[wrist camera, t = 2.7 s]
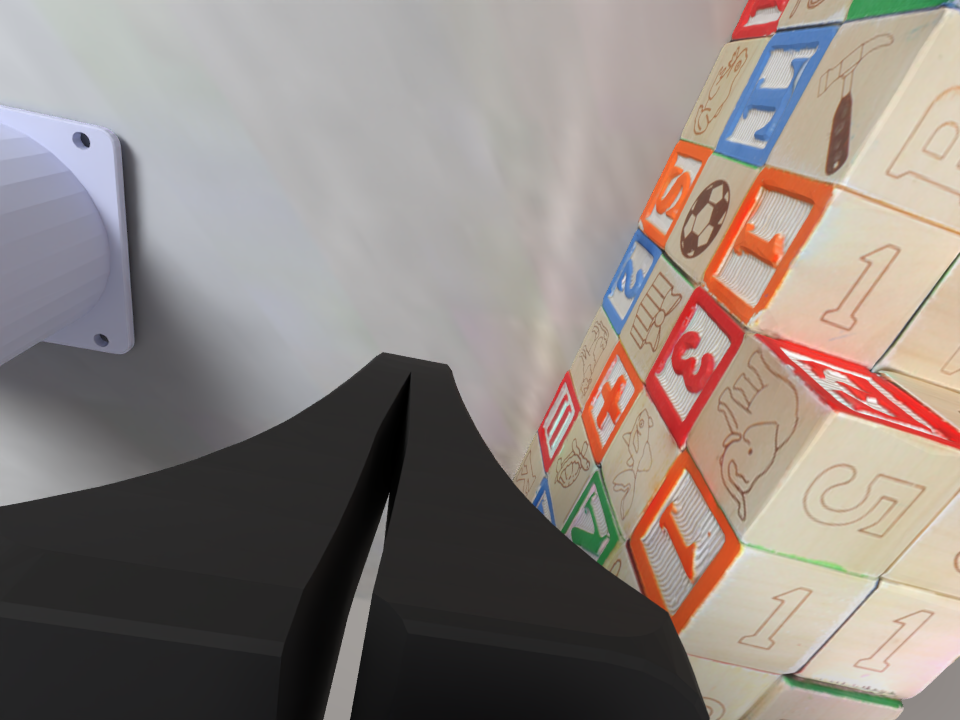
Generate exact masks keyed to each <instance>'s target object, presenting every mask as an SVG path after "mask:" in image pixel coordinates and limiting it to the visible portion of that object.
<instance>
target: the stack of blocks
mask: <svg viewBox="0 0 960 720" xmlns="http://www.w3.org/2000/svg"><path fill="white" fill-rule="evenodd" d="M513 483H514V484H515V485H516V486H517V487H518V489H519V490H520V491H521V492H522V493H523V494H524V495H525V496H526V497H527V499H528V500H529V501H530V502H531V503H532V504H533V505H534V506H535V507H536V508H537V509H538V510H539V511H540V512H541V513H542V514H543V515H544V516H545V517H546V518H547V519H548V520H549V521H550V522H551V523H552V524H553V525H554V526H556V527H557V528H558V529H559V530H560V531H561V532H562V533H563V534H564V535H566V536H567V537H568V538H569V539H570V540H571V541H572V542H574V543H575V544H576V545H577V546H578V547H580V548H581V549H582V550H583V551H584V552H586V553H587V554H588V555H589V556H591V557H592V558H593V559H594V560H595V561H597V562H598V563H599V564H600V565H602V566H603V567H604V568H606V569H607V570H608V571H610V572H611V573H613V574H614V575H615V576H617V577H618V578H620V579H621V580H623V581H624V582H625V583H627V584H628V585H630V586H631V587H633V588H634V589H636V590H637V591H638V592H640V593H641V594H643V595H644V596H646V597H647V598H648V599H650V600H651V601H653V602H654V603H656V604H657V605H659V606H660V607H661V608H663V609H664V610H666V611H667V612H668V613H669V615H670V617H671V620H672V622H673V624H674V627H675V629H676V631H677V633H678V635H679V638H680V640H681V642H682V644H683V646H684V648H685V651H686V653H687V655H688V658H689V661H690V663H691V666H692V669H693V671H694V674H695V677H696V680H697V683H698V686H699V689H700V691H701V694H702V697H703V700H704V703H705V706H706V708H707V711H708V714H709V717H710V720H895V719H896V718H897V717H898V716H899V715H900V714H901V713H902V711H903V704H902V701H901V700H902V699H907V698H912V697H914V696H915V695H917V694H919V693H920V692H921V691H922V690H923V689H924V688H926V687H927V686H928V685H929V684H930V683H931V682H932V681H933V680H934V679H935V678H936V677H937V676H938V675H939V674H940V673H941V672H942V671H943V670H944V669H945V668H946V667H947V666H949V665H950V664H951V663H953V662H954V661H956V660H957V659H958V658H959V657H960V0H749V1H748V3H747V5H746V7H745V9H744V11H743V13H742V15H741V18H740V20H739V22H738V24H737V26H736V28H735V30H734V32H733V34H732V39H731V41H730V42H729V43H727V44H725V45H724V47H723V48H722V50H721V52H720V55H719V57H718V59H717V61H716V63H715V65H714V67H713V69H712V71H711V73H710V75H709V77H708V79H707V81H706V84H705V86H704V88H703V90H702V92H701V94H700V96H699V98H698V100H697V102H696V104H695V107H694V109H693V111H692V113H691V115H690V117H689V119H688V121H687V123H686V125H685V128H684V130H683V132H682V135H681V139H680V140H679V142H678V143H677V144H676V146H675V148H674V150H673V152H672V154H671V156H670V158H669V160H668V162H667V164H666V166H665V168H664V170H663V172H662V174H661V176H660V178H659V180H658V182H657V184H656V186H655V188H654V190H653V192H652V194H651V197H650V199H649V201H648V203H647V205H646V207H645V209H644V211H643V213H642V215H641V217H640V219H639V222H638V230H637V231H636V233H635V234H634V236H633V238H632V240H631V242H630V245H629V247H628V249H627V251H626V253H625V255H624V257H623V259H622V261H621V263H620V265H619V267H618V270H617V272H616V274H615V276H614V278H613V280H612V282H611V284H610V286H609V288H608V290H607V292H606V294H605V296H604V298H603V303H602V305H601V307H600V308H599V310H598V312H597V314H596V316H595V318H594V320H593V322H592V324H591V326H590V328H589V331H588V333H587V335H586V337H585V339H584V341H583V343H582V345H581V347H580V349H579V351H578V353H577V355H576V358H575V360H574V362H573V364H572V366H571V369H570V370H569V371H567V373H566V374H565V376H564V379H563V380H562V382H561V384H560V386H559V388H558V390H557V393H556V395H555V397H554V399H553V401H552V403H551V405H550V407H549V409H548V411H547V413H546V415H545V417H544V419H543V421H542V423H541V426H540V428H539V429H538V432H537V433H536V435H535V437H534V439H533V441H532V443H531V445H530V447H529V449H528V451H527V453H526V455H525V457H524V459H523V461H522V463H521V465H520V467H519V469H518V471H517V473H516V475H515V477H514V479H513Z"/></svg>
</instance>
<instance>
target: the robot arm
mask: <svg viewBox="0 0 960 720" xmlns="http://www.w3.org/2000/svg"><path fill="white" fill-rule="evenodd" d="M81 133H84V134H86V136H87V137H88V138H89V140H90V147H89V148H88V147H86V146H85V145H84V144H83V143H82V142H81V139H80V136H81ZM100 334H102V335H105V336H106V337H107V338H108V341H109V342H106V341H104V340H103V339H102V338H101V336H100ZM41 341H43V342H49V343H55V344H61V345H67V346H72V347H78V348H84V349H90V350H96V351H101V352H107V353H113V354H124V353H127V352H128V351H129V350H131V349H132V347H133V346H134V342H135V339H134V325H133V311H132V296H131V282H130V268H129V254H128V239H127V225H126V211H125V197H124V182H123V168H122V154H121V145H120V141H119V139H118V137H117V136H116V134H115V133H113V132H112V131H111V130H110V129H108V128H105V127H102V126H98V125H93V124H88V123H84V122H79V121H74V120H69V119H65V118H60V117H55V116H51V115H46V114H41V113H36V112H32V111H27V110H22V109H18V108H13V107H8V106H4V105H0V366H1V365H3V364H4V363H6V362H8V361H9V360H11V359H13V358H14V357H16V356H18V355H19V354H21V353H23V352H24V351H26V350H27V349H29V348H31V347H32V346H34V345H36V344H37V343H39V342H41ZM389 492H390V494H389ZM388 495H389V503H388V512H387V522H386V531H385V540H384V549H383V553H382V557H381V561H380V565H379V569H378V574H377V578H376V582H375V585H374V589H373V594H372V599H371V605H370V611H369V617H368V622H367V628H366V633H365V639H364V644H363V650H362V656H361V661H360V667H359V673H358V678H357V684H356V690H355V695H354V701H353V706H352V712H351V718H350V720H710V717H709V714H708V711H707V708H706V706H705V703H704V700H703V697H702V694H701V691H700V689H699V686H698V683H697V680H696V677H695V674H694V671H693V669H692V666H691V663H690V661H689V658H688V655H687V653H686V651H685V648H684V646H683V644H682V642H681V640H680V638H679V635H678V633H677V631H676V629H675V627H674V624H673V622H672V620H671V617H670V615H669V613H668V612H667V611H666V610H664V609H663V608H661V607H660V606H659V605H657V604H656V603H654V602H653V601H651V600H650V599H648V598H647V597H646V596H644V595H643V594H641V593H640V592H638V591H637V590H636V589H634V588H633V587H631V586H630V585H628V584H627V583H625V582H624V581H623V580H621V579H620V578H618V577H617V576H615V575H614V574H613V573H611V572H610V571H608V570H607V569H606V568H604V567H603V566H602V565H600V564H599V563H598V562H597V561H595V560H594V559H593V558H592V557H591V556H589V555H588V554H587V553H586V552H584V551H583V550H582V549H581V548H580V547H578V546H577V545H576V544H575V543H574V542H572V541H571V540H570V539H569V538H568V537H567V536H566V535H564V534H563V533H562V532H561V531H560V530H559V529H558V528H557V527H556V526H554V525H553V524H552V523H551V522H550V521H549V520H548V519H547V518H546V517H545V516H544V515H543V514H542V513H541V512H540V511H539V510H538V509H537V508H536V507H535V506H534V505H533V504H532V503H531V502H530V501H529V500H528V499H527V497H526V496H525V495H524V494H523V493H522V492H521V491H520V490H519V489H518V487H517V486H516V485H515V484H514V483H513V481H512V480H511V479H510V478H509V476H508V475H507V474H506V473H505V471H504V470H503V469H502V468H501V466H500V465H499V463H498V462H497V461H496V459H495V458H494V456H493V455H492V453H491V452H490V450H489V448H488V447H487V445H486V444H485V442H484V440H483V439H482V437H481V435H480V434H479V432H478V430H477V428H476V427H475V425H474V423H473V421H472V419H471V417H470V415H469V413H468V411H467V409H466V407H465V405H464V403H463V400H462V398H461V396H460V393H459V391H458V389H457V386H456V383H455V380H454V377H453V373H452V370H451V369H450V367H449V366H448V365H447V364H442V363H436V362H431V361H426V360H421V359H416V358H410V357H405V356H400V355H395V354H389V353H384V352H383V353H381V354H379V355H378V356H376V357H375V358H374V359H373V360H372V361H370V362H369V363H368V364H367V365H366V366H365V367H363V368H362V369H361V370H360V371H359V372H357V373H356V374H355V375H354V376H352V377H351V378H350V379H349V380H347V381H346V382H345V383H343V384H342V385H340V386H339V387H338V388H336V389H335V390H334V391H332V392H331V393H330V394H328V395H327V396H325V397H324V398H322V399H321V400H319V401H318V402H316V403H315V404H313V405H311V406H310V407H308V408H307V409H305V410H303V411H302V412H300V413H299V414H297V415H296V416H294V417H292V418H290V419H289V420H287V421H285V422H283V423H281V424H279V425H277V426H275V427H273V428H271V429H269V430H267V431H265V432H263V433H261V434H259V435H256V436H254V437H252V438H250V439H247V440H245V441H243V442H240V443H237V444H235V445H232V446H230V447H227V448H224V449H222V450H219V451H216V452H214V453H211V454H209V455H206V456H203V457H201V458H198V459H195V460H193V461H190V462H187V463H184V464H180V465H177V466H174V467H171V468H167V469H164V470H161V471H158V472H154V473H150V474H147V475H143V476H139V477H136V478H132V479H128V480H125V481H121V482H117V483H113V484H109V485H105V486H101V487H96V488H91V489H86V490H82V491H77V492H72V493H67V494H62V495H57V496H53V497H48V498H43V499H38V500H33V501H28V502H23V503H18V504H12V505H7V506H1V507H0V720H323V719H324V714H325V710H326V706H327V702H328V697H329V693H330V689H331V685H332V680H333V676H334V672H335V668H336V664H337V660H338V655H339V651H340V647H341V643H342V639H343V635H344V631H345V626H346V622H347V618H348V615H349V611H350V608H351V605H352V601H353V598H354V595H355V592H356V589H357V586H358V583H359V580H360V577H361V574H362V571H363V568H364V565H365V563H366V560H367V557H368V554H369V551H370V548H371V545H372V542H373V539H374V536H375V533H376V531H377V528H378V525H379V522H380V519H381V516H382V513H383V510H384V507H385V504H386V501H387V498H388Z"/></svg>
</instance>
